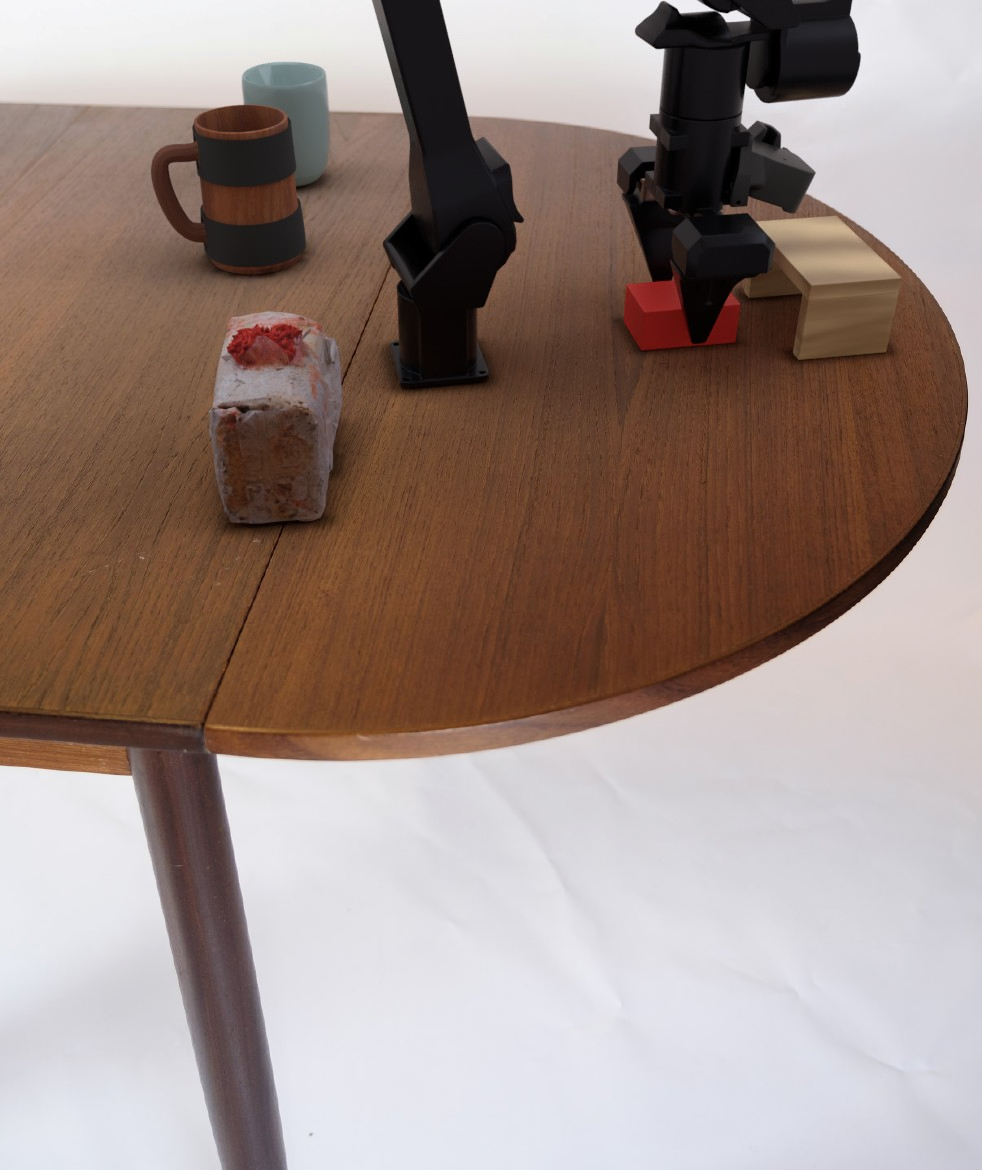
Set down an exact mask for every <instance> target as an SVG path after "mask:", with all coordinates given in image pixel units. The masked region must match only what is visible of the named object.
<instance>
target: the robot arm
mask: <svg viewBox="0 0 982 1170" xmlns="http://www.w3.org/2000/svg"><path fill="white" fill-rule="evenodd" d="M371 1H372V6H373V10H374V13H375V17H376V20H377V24H378V27H379V31H380V36H381V38H382V42H383V45H384V49H385V53H386V57H387V60H388V64H389V68H390V71H391V75H392V78H393V82H394V86H395V89H396V93H397V97H398V101H399V105H400V108H401V112H402V115H403V118H404V122H405V126H406V130H407V133H408V138H409V139H408V141H409V155H408V185H409V186H408V187H409V195H410V206H411V209H410V210H409V212H407V214H406V215H405V216H404V217H403V219H402V220H400V221H399V222H398V224H397V225H396V226H395V227H394V229H393V230H391V232H390V233H389V234H388V235H387V237H386V238H385V239H384V240H383V242H382V247H383V250H384V252H385V255H386V256H387V260H388V261H389V264H390V265H391V268H392V269H393V270H395V271H396V273H397V275H398V277H399V279H400V280H399V281H398V282H397V284H396V302H397V303H396V306H397V326H398V327H397V329H398V340H393V341H391V342H390V343H389V350H390V354H391V358H392V361H393V365H394V369H395V373H396V376H397V380H398V383H399V386H400V387H401V388H405V389H407V388H408V389H409V388H418V387H430V386H440V385H452V384H463V383H474V382H476V383H477V382H484V381H487V380H489V379H490V372H489V371H490V370H489V369H488V366H487V364H486V361H485V358H484V356H483V354H482V351H481V349H480V346H479V344H478V309H482V308H484V307H485V305H486V304H487V301H488V298H489V295H490V294H491V290H492V288H493V285H494V281H495V279H496V276H497V274H498V271H500V270H501V269H502V268H503V267H504V266H505V265H506V264H507V263H508V261H509V259H510V257H511V255H512V254H513V253H514V252H515V251H516V248H517V243H518V238H517V236H518V235H517V227H516V225H515V223H518V224H523V223H524V222H525V218H524V217H523V216H522V214H521V213H520V212H519V210H518V207H517V205H516V202H515V197H514V186H513V185H514V184H513V175H512V174H513V173H512V169H511V165H510V164H509V163H508V161H507V160H506V159H505V158H504V157H503V156H502V154H500V152H499V151H498V150H497V149H496V148H495V147H494V145H493V144H492V143H491V142H490V141H489V140H488V139H487V138H486V136H482V137H480V138H478V139H476V140H475V138H474V135H473V131H472V127H471V124H470V119H469V115H468V111H467V107H466V103H465V99H464V94H463V89H462V86H461V81H460V77H459V73H458V69H457V65H456V61H455V57H454V53H453V48H452V45H451V40H450V37H449V32H448V28H447V24H446V20H445V16H444V12H443V11H444V10H443V7H442V4H441V0H371ZM696 1H697V2H698V3H700V4H702V5H704V6H705V7H707V8H709V9H711V10H706V11H694V12H680V10H679V9H678V8H677V7H676V6H674V5H673V4H671V3H670V2H667V1H665V0H662V1H660V2H659V4H658V6H657V7H656V9H654V11H653V12H652V13H651V14H650V15H648V16H647V17H645V18H644V19H643V20H642V21H641V22H639V24H637V25H636V26H635V28H634V34H635V36H636V37H638V38H639V39H641V40H642V41H643V42H645V43H646V44H648V45H649V46H651V47H652V48H654V49H655V50H663V57H662V58H663V59H662V72H661V84H660V96H659V105H658V106H659V108H658V113H649V124H648V130H650V131H651V133H652V134H653V135H654V136H655V137H656V143H655V144H656V145H645V146H630V147H629V148H628V149H627V150H626V151H625V152H624V153H623V154H622V155H621V156H620V157H619V158H618V160H617V173H616V174H617V175H616V184H617V185H618V187H619V188H620V189H621V191H622V193H621V198H622V201H623V203H624V205H625V208H626V210H627V213H628V216H629V219H630V221H631V225H632V227H633V229H634V232H635V236H636V238H637V241H638V244H639V247H640V249H641V253H642V255H643V258H644V261H645V264H646V267H647V270H648V273H649V276H650V279H651V282H659V281H672V280H675V284H676V288H677V292H678V296H679V300H680V304H681V308H682V311H683V315H684V319H685V323H686V327H687V331H688V334H689V338H690V341H691V343H692V344H703V343H705V342H706V341H707V339H708V337H709V335H710V333H711V331H712V329H713V327H714V325H715V323H716V320H717V318H718V316H719V314H720V312H721V310H722V308H723V306H724V304H725V302H726V300H727V298H728V296H729V295H730V293H732V291H733V290H734V289H735V287H736V286H737V285H738V284H739V283H741V282H742V281H743V280H746V278H753V277H756V276H758V275H759V274H763V273H768V272H769V271H770V270H772V265H773V258H774V251H775V242H774V241H773V240H772V239H771V238H770V237H769V236H768V235H767V234H766V233H765V232H764V230H763V229H762V228H761V227H760V226H759V225H758V224H757V223H756V222H757V221H756V220H755V219H754V218H753V217H752V216H751V215H750V213H749V212H742V213H728V214H727V213H726V214H725V213H724V212H723V211H722V210H723V209H724V206H730V207H731V208H740V207H741V208H742V207H748V205H749V204H748V203H749V197H750V198H752V199H754V200H757V201H761V202H764V203H766V204H769V205H772V206H775V207H778V208H781V210H782V212H785V213H788V214H792V215H793V214H794V215H795V214H797V212H798V210H799V208H800V206H801V204H802V202H803V200H804V198H805V196H806V194H807V192H808V190H809V188H810V185H811V184H812V181H813V180H814V178H815V176H816V173H817V172H816V171H815V170H814V169H813V168H812V167H811V166H810V165H809V164H808V163H807V162H806V161H805V160H804V159H802V157H800V156H799V155H798V154H796V153H794V152H792V151H791V150H790V149H788V148H787V147H785V146H782V134H781V132H780V131H779V130H778V129H777V128H775V126H773V125H772V124H770V123H766V122H763V121H760V120H755V122H753V124H751V125H750V126H749V127H748V128H747V127H746V126H745V125H744V124H743V123H742V119H743V118H742V117H743V108H744V100H745V93H746V92H745V91H746V87H747V88H748V89H750V90H753V92H754V94H755V96H756V97H757V98H758V100H759V101H760V102H762V103H764V104H776V103H789V102H798V101H809V100H818V99H819V100H820V99H830V98H839V97H842V96H845V95H846V94H848V93H849V92H850V90H851V89H852V88H853V86H854V85H855V82H856V80H857V78H858V74H859V71H860V66H861V59H862V54H861V52H860V50H859V49H860V48H859V46H860V45H859V38H858V36H859V35H858V32H857V27H856V24H855V22H854V19H853V17H852V16H851V12H852V11H851V10H852V5H853V0H696ZM735 11H736V12H738V13H740V14H742V15H744V16H746V17H747V18H749V20H740V21H726V19H725V18H724V16H723V15H722V14H730V13H731V12H735ZM721 13H722V14H721Z"/></svg>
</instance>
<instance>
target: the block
mask: <svg viewBox="0 0 982 1170" xmlns="http://www.w3.org/2000/svg"><path fill="white" fill-rule="evenodd" d="M740 311H741V303H740V301H739V300H738V298H736V296H735V295H734V293H732V292H731V293H730V295H729V296H728V298H727V300H726V302H725V304H724V306H723V308H722V310H721V312H720V314H719V316H718V318H717V320H716V323H715V325H714V327H713V329H712V331H711V333H710V335H709V337H708V339H707V341H706V342H705V343H703V344H692V343H691V341H690V338H689V334H688V331H687V327H686V323H685V319H684V315H683V311H682V308H681V304H680V300H679V296H678V292H677V288H676V284H675V280H674V279H672V281H659V282H652V281H647V282H635V283H634V282H633V283H626V284H625V297H624V309H623V323H624V325H625V326H626V328H627V330H628V331H629V333H630V335H631V337H632V338H633V340H634V341H635V343H636V344H637V346H638V348H639V350H640V351H650V350H651V351H654V350H662V349H675V348H676V349H677V348H688V347H700V346H711V345H712V346H713V345H721V344H733V343H734V344H735V343H736V342H737V333H738V326H739V318H740Z"/></svg>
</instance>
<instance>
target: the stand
mask: <svg viewBox="0 0 982 1170" xmlns="http://www.w3.org/2000/svg"><path fill="white" fill-rule="evenodd" d="M755 222H756V223H757V224H758V225H759V226H760V227H761V228H762V229H763V230H764V232H765V233H766V234H767V235H768V236H769V237H770V238H771V239H772V240H773V241H774V242H775V251H774V258H773V265H772V270H770V271H769V272H768V273H763V274H759V275H758V276H756V277H753V278H745V282H744V290H743V293H744V294H745V295H746V297H747V298H748V299H754V298H755V299H756V298H766V297H779V296H792V295H801V300H800V305H799V306H800V307H799V313H798V318H797V324H796V331H795V336H794V342H793V343H794V344H793V348H792V354H793V355H794V357H796V359H797V360H798V361H803V360H805V361H806V360H813V359H816V360H817V359H826V358H837V357H838V358H839V357H849V356H858V355H870V354H882V353H887V349H888V345H889V340H890V335H891V332H892V326H893V322H894V318H895V312H896V308H897V303H898V298H899V293H900V289H901V283H902V281H903V279H902V278H903V277H902V276H901V275H900V274H899V273H898V272H896V271H895V270H894V269H893V268H892V266H890V265H889V264H888V263H887V262H886V261H885V260H884V259H883V258H882V257H881V256H880V255H878V254H877V253H876V252H875V250H874V249H872V248H871V247H870V246H869V245H868V244H867V243H866V242H865V241H864V240H863V239H861V237H859V236H858V234H857V233H855V232H854V231H853V230H852V229H851V228H850V227H849V226H848V225H847V224H846V223H845V222H844V221H842V219H840V217H838V216H837V215H832V216H831V215H829V216H827V215H826V216H814V217H813V216H812V217H801V218H800V217H799V218H787V219H772V220H760V221H759V220H757V221H755Z"/></svg>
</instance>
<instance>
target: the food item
mask: <svg viewBox="0 0 982 1170" xmlns="http://www.w3.org/2000/svg"><path fill="white" fill-rule="evenodd" d="M342 387H343V386H342V371H341V362H340V355H339V346H338V344H337V340H336V338H334V337H328V336H326V334H325V332H324V331H323V325H322V324H320V323H319V322H317V321H315V320H312V319H310V318H309V317H307V316H306V317H305V316H302V315H299V314H295V313H291V312H282V311H269V310H267V311H263V312H257V313H251V314H246V315H240V316H233V317H230V318H229V321H228V323H227V327H226V333H225V338H224V341H223V344H222V349H221V352H220V355H219V360H218V366H217V370H216V377H215V381H214V389H213V403H212V406H211V408H210V409H209V411H208V415H209V421H208V422H209V426H208V427H209V430H208V434H209V437H210V439H211V445H212V454H213V455H212V457H213V467H214V472H215V478H216V483H217V488H218V493H219V496H220V499H221V502H222V506H223V511H224V513H225V514H226V515H227V517H228V519H229V520H230V522H231V523H235V524H236V523H237V524H248V525H251V524H256V525H258V524H261V525H262V524H267V523H276V522H290V521H300V522H313V521H315V520H318V519H320V518H321V517H322V515H323V513H324V511H325V509H326V504H327V492H328V489H329V477H330V473H331V471H332V470H333V469H334V451H333V450H334V444H335V439H336V435H337V430H338V427H339V420H340V416H341V412H342V408H343V388H342Z"/></svg>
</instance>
